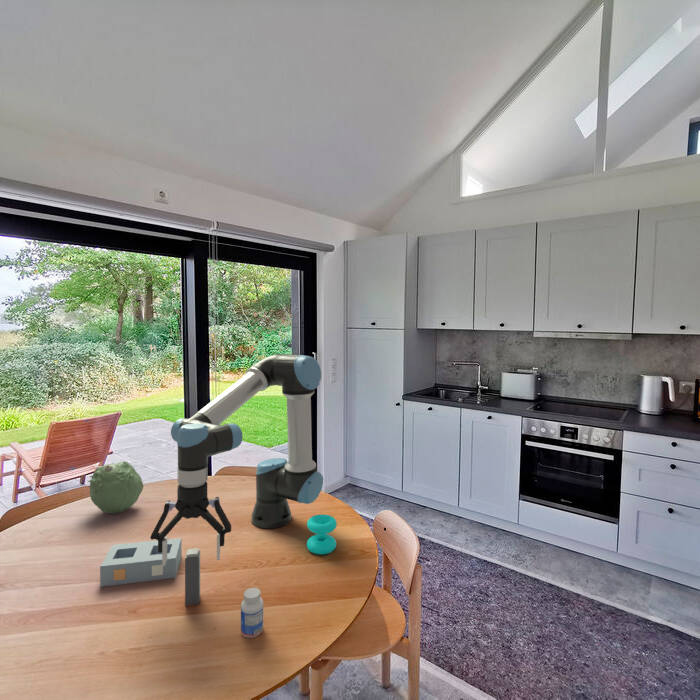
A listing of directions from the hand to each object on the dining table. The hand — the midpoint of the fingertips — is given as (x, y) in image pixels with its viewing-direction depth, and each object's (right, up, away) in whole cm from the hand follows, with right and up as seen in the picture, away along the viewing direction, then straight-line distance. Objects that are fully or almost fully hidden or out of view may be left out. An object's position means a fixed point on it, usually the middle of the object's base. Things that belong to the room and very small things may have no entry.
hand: (191, 560), depth 113 cm
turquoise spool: (+33, -11, +29) cm, 45 cm away
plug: (0, -11, +1) cm, 11 cm away
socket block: (-20, -10, +14) cm, 27 cm away
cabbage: (-50, -8, +53) cm, 73 cm away
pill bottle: (+18, -13, -10) cm, 24 cm away
